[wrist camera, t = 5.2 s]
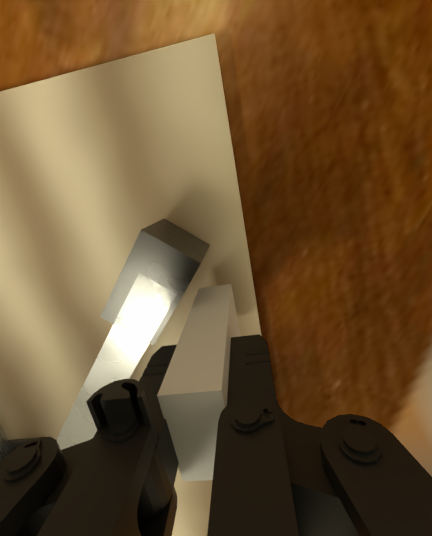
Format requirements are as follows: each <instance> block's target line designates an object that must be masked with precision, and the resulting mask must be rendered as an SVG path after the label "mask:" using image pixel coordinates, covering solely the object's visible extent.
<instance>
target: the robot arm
mask: <svg viewBox="0 0 432 536" xmlns="http://www.w3.org/2000/svg"><path fill="white" fill-rule="evenodd" d="M86 403H87V406H88V408H89V411H90V413H91V416H92V418H93V421H94V423H95V426H96V428H97V432H96V433H95V435H94V437H93V438H92V439H90V440H88V441H85V442H82V443H79V444H76V445H74V446H71V447H68V448H65V449H62V450H61V449H60V447H59V444H58V442H57V440H55V439H54V438H52V437H40V438H37V439H34V440H31V441H28V442H27V443H25V444H23V445H21V446H20V447H18V448H16V449H15V450H14V451H13V452H11V453H10V454H9V455H8V456H6V457H5V458H4V459H3V460H2V461H1V462H0V536H172V531H173V526H174V521H175V516H176V511H177V494H176V490H175V487H174V483H175V478H176V474H177V469H178V468H179V471H180V474H181V478H182V481H204V480H213V481H212V491H211V502H210V512H209V522H208V533H207V536H432V477H431V476H430V475H429V473H428V472H427V471H426V470H425V469H424V468H423V467H422V466H421V465H420V464H419V462H418V461H417V460H416V459H415V458H414V457H413V456H412V455H411V454H410V453H409V452H408V450H407V449H406V448H405V447H404V446H403V445H402V444H401V443H400V442H399V440H397V438H396V437H395V436H394V435H393V434H392V433H391V432H390V431H388V430H387V429H386V428H385V427H384V426H382V425H381V424H380V423H378V422H375V421H373V420H371V419H369V418H367V417H364V416H358V415H353V414H348V415H338V416H336V417H334V418H332V419H330V420H328V421H327V422H326V424H325V425H324V426H323V428H320V427H315V426H311V425H306V424H303V423H300V422H297V421H295V420H294V419H292V418H290V417H289V416H288V415H286V414H285V413H284V412H283V411H282V409H281V408H280V407H279V405H278V402H277V399H276V394H275V388H274V381H273V375H272V369H271V363H270V357H269V351H268V345H267V342H266V340H265V339H264V338H263V337H262V336H261V335H260V334H257V335H248V336H240V331H239V325H238V320H237V314H236V308H235V303H234V297H233V291H232V286H231V284H227V285H220V286H213V287H205V288H199V290H198V292H197V295H196V297H195V300H194V302H193V305H192V308H191V310H190V313H189V315H188V318H187V320H186V323H185V326H184V328H183V331H182V333H181V336H180V338H179V341H178V343H177V345H168V346H162V347H160V348H159V349H158V350H157V351H156V352H155V353H154V354H153V355H152V356H151V358H150V360H149V362H148V364H147V368H145V370H144V372H143V374H142V377H141V378H140V380H139V381H137V380H135V379H122V380H117V381H114V382H112V383H109V384H107V385H105V386H103V387H102V388H100V389H99V390H98V391H96V392H95V393H94V394H93V395H92V396H91V397H90V398H89V399H88V400H87V401H86Z"/></svg>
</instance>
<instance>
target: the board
mask: <svg viewBox="0 0 432 536" xmlns="http://www.w3.org/2000/svg"><path fill="white" fill-rule="evenodd" d="M164 218H165V219H166V220H168V221H170V222H171V223H173V224H175V225H177V226H178V227H180V228H182V229H184V230H185V231H187V232H189V233H191V234H192V235H194V236H196V237H198V238H199V239H201V240H203V241H205V242H206V243H208V244H210V246H209V248H208V250H207V252H206V254H205V256H204V259H203V261H202V263H201V265H200V266H199V268H198V270H197V271H196V273H195V275H194V277H193V278H192V280H191V282H190V284H189V285H188V287H187V289H186V291H185V292H184V294H183V296H182V298H181V299H180V301H179V303H178V304H177V306H176V308H175V310H174V311H173V313H172V315H171V317H170V318H169V320H168V322H167V324H166V325H165V327H164V329H163V330H162V332H161V334H160V336H159V337H158V339H157V341H156V343H155V344H154V345H152V344H150V343H149V345H148V347H147V348H146V350H145V352H144V354H143V355H142V357H141V359H140V361H139V362H138V364H137V366H136V368H135V369H134V371H133V373H132V375H131V376H130V378H129V379H135V380H137V381H139V380H140V378H141V377H142V374H143V372H144V370H145V368H147V364H148V362H149V360H150V358H151V356H152V355H153V354H154V353H155V352H156V351H157V350H158V349H159V348H160V347H162V346H168V345H177V343H178V341H179V338H180V336H181V333H182V331H183V328H184V326H185V323H186V320H187V318H188V315H189V313H190V310H191V308H192V305H193V302H194V300H195V297H196V295H197V292H198V290H199V288H205V287H213V286H220V285H227V284H231V286H232V291H233V297H234V303H235V308H236V314H237V320H238V325H239V331H240V336H248V335H257V334H260V335H261V329H260V322H259V316H258V309H257V303H256V296H255V290H254V283H253V277H252V270H251V264H250V257H249V251H248V244H247V238H246V231H245V225H244V218H243V212H242V205H241V199H240V192H239V186H238V179H237V173H236V166H235V160H234V153H233V147H232V140H231V134H230V127H229V121H228V114H227V108H226V102H225V95H224V89H223V82H222V76H221V69H220V63H219V56H218V50H217V44H216V38H215V33H214V34H210V35H206V36H203V37H199V38H195V39H192V40H188V41H184V42H181V43H177V44H173V45H170V46H166V47H162V48H159V49H155V50H151V51H148V52H144V53H140V54H137V55H133V56H129V57H126V58H122V59H118V60H115V61H111V62H107V63H104V64H100V65H96V66H93V67H89V68H85V69H81V70H78V71H74V72H70V73H67V74H63V75H59V76H56V77H52V78H48V79H45V80H41V81H37V82H34V83H30V84H26V85H23V86H19V87H15V88H12V89H8V90H4V91H1V92H0V425H1V427H2V429H3V431H4V433H5V434H6V436H7V438H8V440H14V439H29V438H40V437H52V438H54V439H55V440H56V439H57V437H58V435H59V433H60V431H61V429H62V427H63V425H64V423H65V421H66V419H67V417H68V415H69V413H70V411H71V409H72V407H73V405H74V403H75V401H76V399H77V397H78V395H79V393H80V390H81V388H82V386H83V384H84V382H85V380H86V378H87V376H88V374H89V372H90V370H91V368H92V366H93V364H94V362H95V360H96V358H97V356H98V354H99V352H100V350H101V348H102V346H103V344H104V342H105V340H106V338H107V336H108V334H109V332H110V330H111V328H112V326H113V324H112V323H110V322H108V321H107V320H105V319H103V318H101V317H100V315H101V313H102V311H103V309H104V307H105V305H106V303H107V301H108V299H109V296H110V294H111V292H112V290H113V288H114V286H115V284H116V282H117V279H118V277H119V275H120V273H121V271H122V269H123V267H124V265H125V262H126V260H127V258H128V256H129V254H130V252H131V250H132V248H133V246H134V243H135V241H136V239H137V237H138V235H139V233H140V231H141V229H143V228H145V227H147V226H149V225H151V224H154V223H156V222H158V221H160V220H162V219H164ZM261 336H262V335H261ZM212 481H213V480H204V481H182V478H181V474H180V471H179V468H178V469H177V474H176V478H175V483H174V487H175V490H176V494H177V511H176V516H175V521H174V526H173V531H172V536H207V533H208V522H209V512H210V502H211V491H212Z"/></svg>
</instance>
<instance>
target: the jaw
mask: <svg viewBox="0 0 432 536" xmlns="http://www.w3.org/2000/svg"><path fill="white" fill-rule="evenodd" d="M209 246H210V244H208V243H206V242H205V241H203V240H201V239H199V238H198V237H196V236H194V235H192V234H191V233H189V232H187V231H185V230H184V229H182V228H180V227H178V226H177V225H175V224H173V223H171V222H170V221H168V220H166V219H165V218H164V219H162V220H160V221H158V222H156V223H154V224H151V225H149V226H147V227H145V228H143V229H141V231H140V233H139V235H138V237H137V239H136V241H135V243H134V246H133V248H132V250H131V252H130V254H129V256H128V258H127V260H126V262H125V265H124V267H123V269H122V271H121V273H120V275H119V277H118V279H117V282H116V284H115V286H114V288H113V290H112V292H111V294H110V296H109V299H108V301H107V303H106V305H105V307H104V309H103V311H102V313H101V315H100V317H101V318H103V319H105V320H107V321H108V322H110V323H112V324H113V326H112V328H111V330H110V332H109V334H108V336H107V338H106V340H105V342H104V344H103V346H102V348H101V350H100V352H99V354H98V356H97V358H96V360H95V362H94V364H93V366H92V368H91V370H90V372H89V374H88V376H87V378H86V380H85V382H84V384H83V386H82V388H81V390H80V393H79V395H78V397H77V399H76V401H75V403H74V405H73V407H72V409H71V411H70V413H69V415H68V417H67V419H66V421H65V423H64V425H63V427H62V429H61V431H60V433H59V435H58V437H57V439H56V440H57V442H58V444H59V447H60V449H61V450H62V449H65V448H68V447H71V446H74V445H76V444H79V443H82V442H85V441H88V440H90V439H92V438H93V437H94V435H95V433H96V432H97V428H96V426H95V423H94V421H93V418H92V416H91V413H90V411H89V408H88V406H87V403H86V401H87V400H88V399H89V398H90V397H91V396H92V395H93V394H94V393H95V392H96V391H98V390H99V389H100V388H102V387H103V386H105V385H107V384H109V383H112V382H114V381H117V380H122V379H129V378H130V376H131V375H132V373H133V371H134V369H135V368H136V366H137V364H138V362H139V361H140V359H141V357H142V355H143V354H144V352H145V350H146V348H147V347H148V345H149V343H150V344H152V345H154V344H155V343H156V341H157V339H158V337H159V336H160V334H161V332H162V330H163V329H164V327H165V325H166V324H167V322H168V320H169V318H170V317H171V315H172V313H173V311H174V310H175V308H176V306H177V304H178V303H179V301H180V299H181V298H182V296H183V294H184V292H185V291H186V289H187V287H188V285H189V284H190V282H191V280H192V278H193V277H194V275H195V273H196V271H197V270H198V268H199V266H200V265H201V263H202V261H203V259H204V256H205V254H206V252H207V250H208V248H209Z"/></svg>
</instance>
